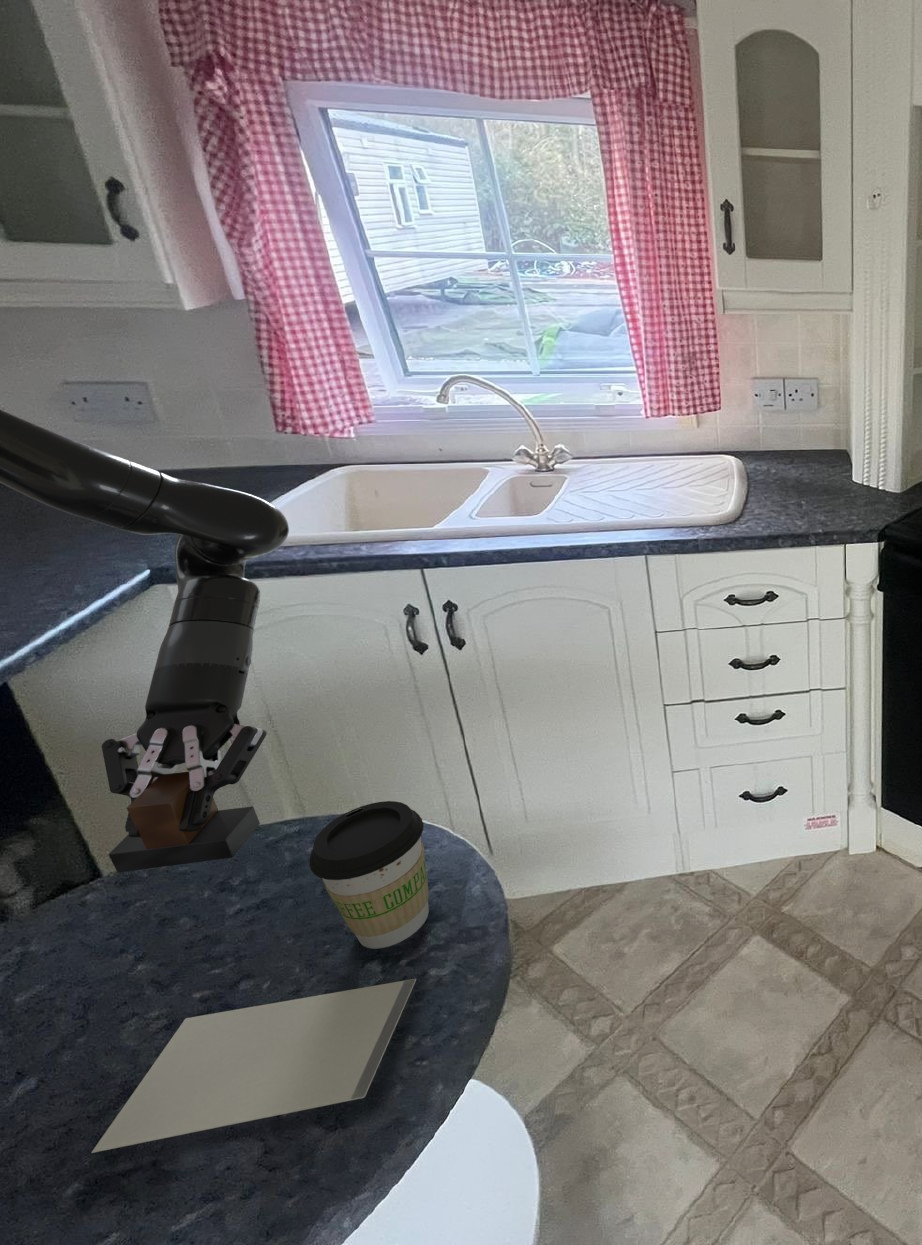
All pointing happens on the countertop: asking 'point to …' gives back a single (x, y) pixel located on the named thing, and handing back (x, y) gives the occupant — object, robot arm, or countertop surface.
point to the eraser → (162, 837)
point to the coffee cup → (375, 871)
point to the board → (262, 1063)
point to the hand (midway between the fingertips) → (165, 832)
